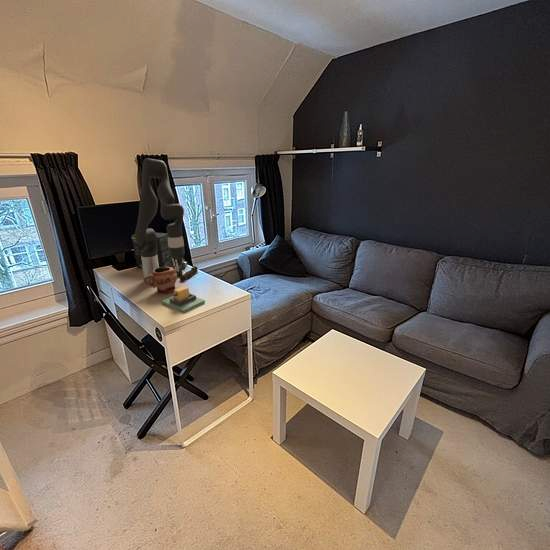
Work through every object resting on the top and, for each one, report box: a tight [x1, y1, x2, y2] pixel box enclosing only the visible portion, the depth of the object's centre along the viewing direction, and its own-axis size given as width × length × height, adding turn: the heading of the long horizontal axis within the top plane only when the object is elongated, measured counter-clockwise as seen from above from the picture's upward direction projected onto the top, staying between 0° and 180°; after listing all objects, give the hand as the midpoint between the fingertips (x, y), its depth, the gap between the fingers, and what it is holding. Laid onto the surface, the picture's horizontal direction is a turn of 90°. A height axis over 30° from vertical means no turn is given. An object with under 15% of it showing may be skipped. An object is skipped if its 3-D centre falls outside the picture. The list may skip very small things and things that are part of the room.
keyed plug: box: [172, 285, 190, 302], centre depth 157 cm, size 4×9×7 cm, turn 146°
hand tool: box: [179, 265, 199, 282], centre depth 196 cm, size 19×4×5 cm, turn 162°
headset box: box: [130, 232, 173, 270], centre depth 208 cm, size 22×12×26 cm, turn 73°
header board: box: [161, 292, 206, 314], centre depth 159 cm, size 18×14×4 cm
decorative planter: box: [143, 267, 179, 295], centre depth 171 cm, size 20×12×14 cm, turn 131°
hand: (179, 277), depth 154 cm, fingers closed
